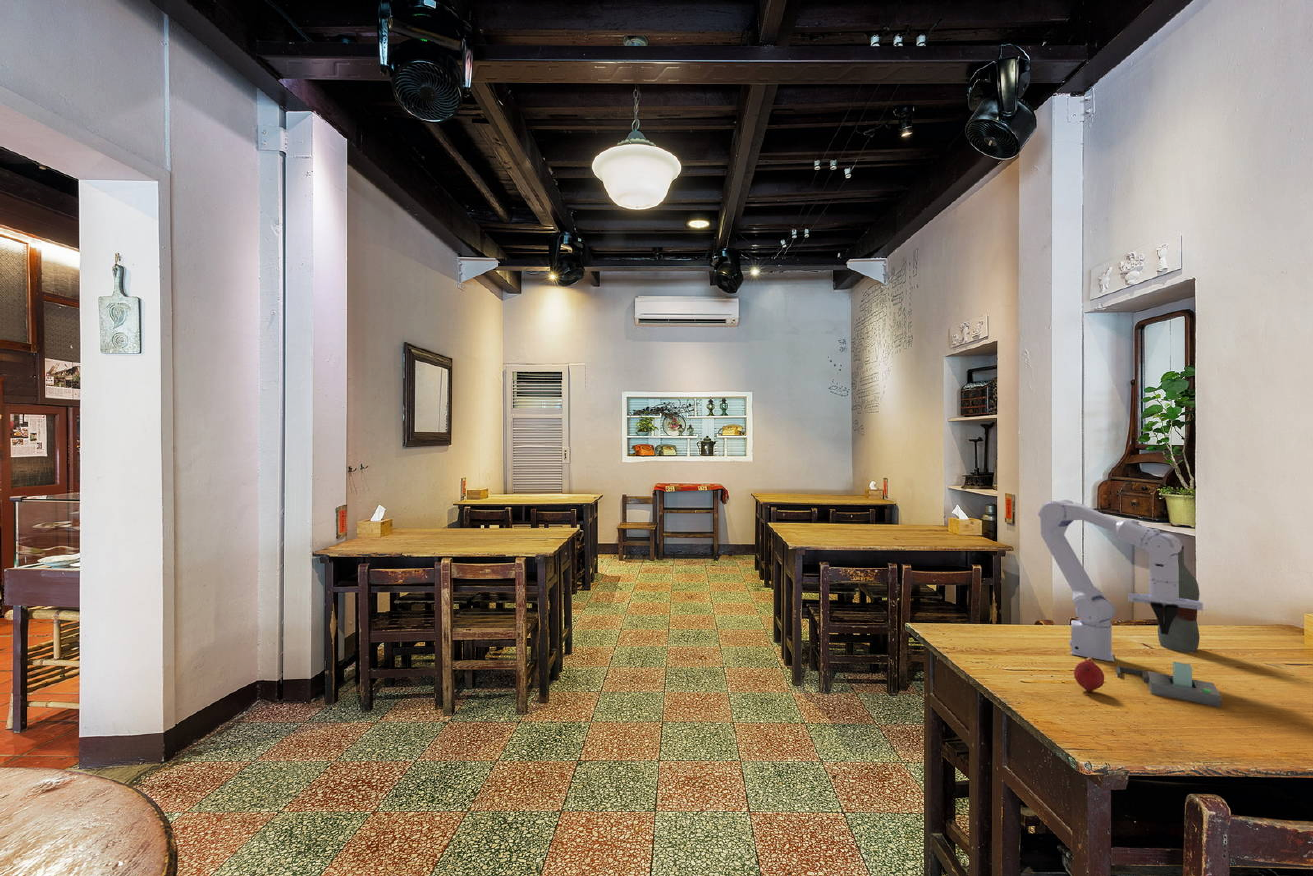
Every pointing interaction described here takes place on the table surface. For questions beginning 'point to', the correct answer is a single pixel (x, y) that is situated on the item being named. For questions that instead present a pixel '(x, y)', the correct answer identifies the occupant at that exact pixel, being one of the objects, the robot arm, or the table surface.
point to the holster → (1131, 672)
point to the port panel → (1184, 689)
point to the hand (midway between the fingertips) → (1164, 633)
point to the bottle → (1183, 615)
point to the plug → (1182, 674)
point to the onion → (1089, 675)
